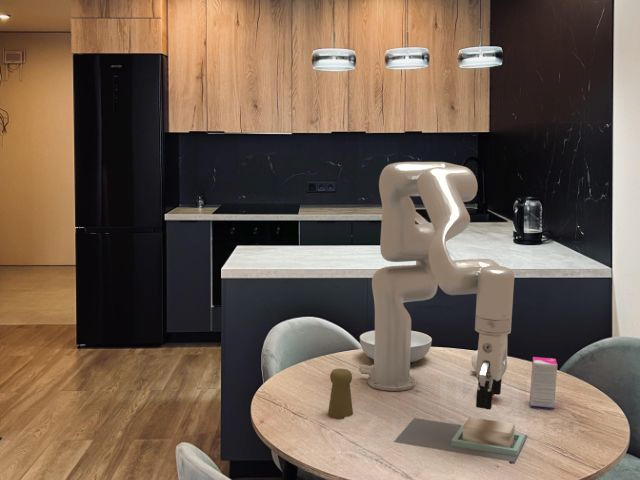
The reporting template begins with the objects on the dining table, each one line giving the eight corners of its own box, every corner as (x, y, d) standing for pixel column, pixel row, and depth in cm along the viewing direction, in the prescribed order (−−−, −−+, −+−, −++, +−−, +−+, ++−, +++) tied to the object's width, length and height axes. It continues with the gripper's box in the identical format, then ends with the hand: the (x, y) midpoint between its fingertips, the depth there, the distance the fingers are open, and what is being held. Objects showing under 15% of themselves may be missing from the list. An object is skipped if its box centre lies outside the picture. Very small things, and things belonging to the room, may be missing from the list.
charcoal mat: (393, 443, 185) (393, 441, 185) (414, 419, 199) (414, 417, 199) (514, 463, 175) (514, 461, 175) (526, 436, 190) (527, 435, 189)
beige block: (513, 441, 186) (514, 423, 185) (508, 451, 180) (509, 433, 180) (468, 434, 190) (469, 417, 189) (462, 443, 184) (463, 426, 184)
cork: (356, 412, 204) (357, 367, 202) (348, 420, 198) (349, 374, 197) (332, 408, 206) (333, 364, 204) (324, 417, 200) (325, 372, 199)
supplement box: (555, 410, 207) (557, 364, 206) (530, 408, 208) (532, 362, 207) (553, 402, 213) (556, 357, 211) (529, 400, 214) (531, 356, 212)
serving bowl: (434, 353, 255) (435, 330, 254) (427, 373, 235) (427, 349, 234) (366, 348, 260) (366, 326, 259) (353, 367, 240) (353, 344, 239)
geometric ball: (491, 383, 236) (510, 362, 234) (478, 379, 230) (497, 358, 228) (474, 364, 240) (493, 344, 239) (460, 360, 235) (479, 339, 233)
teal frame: (451, 445, 183) (451, 440, 183) (461, 430, 192) (462, 425, 192) (517, 456, 178) (517, 450, 177) (524, 439, 187) (525, 434, 187)
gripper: (503, 336, 172) (498, 417, 175) (517, 316, 188) (513, 390, 191) (466, 332, 175) (462, 411, 178) (484, 312, 190) (479, 385, 193)
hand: (488, 400), depth 184 cm, fingers open, 9 cm apart
